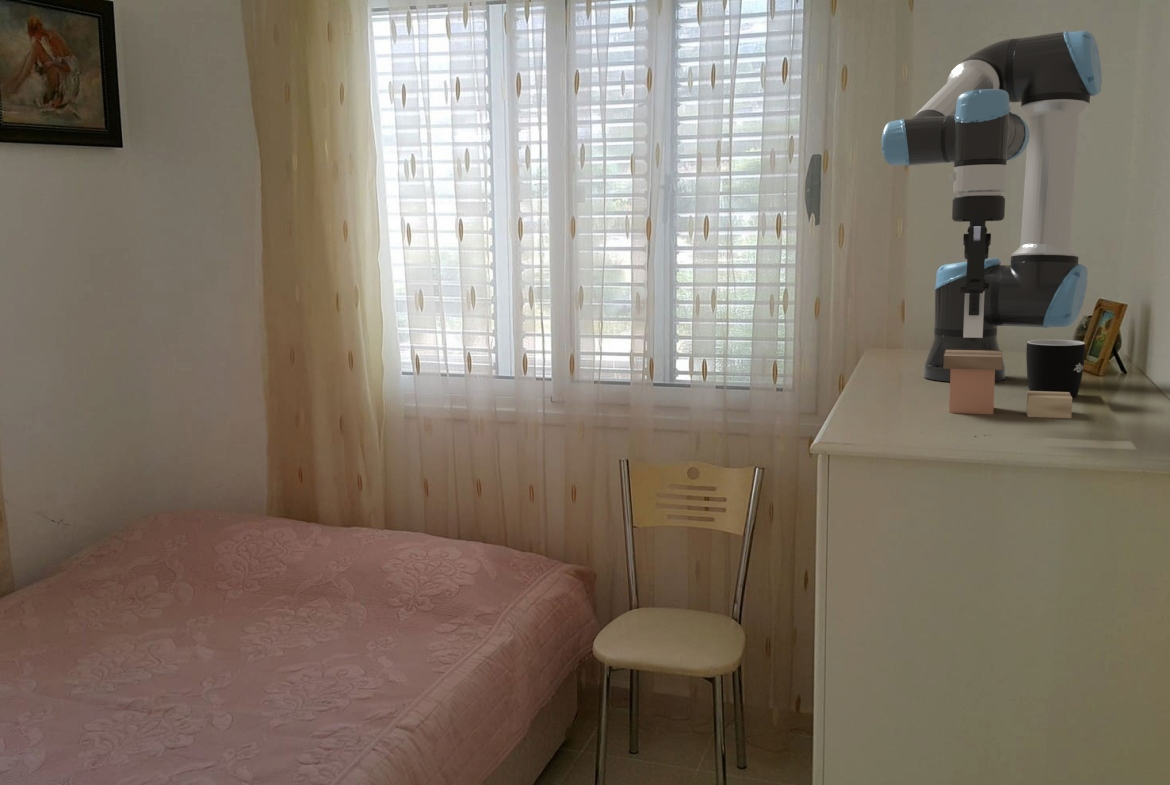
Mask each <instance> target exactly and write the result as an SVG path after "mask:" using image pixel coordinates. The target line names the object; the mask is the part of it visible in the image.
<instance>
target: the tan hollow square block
mask: <svg viewBox="0 0 1170 785" xmlns="http://www.w3.org/2000/svg"><path fill="white" fill-rule="evenodd" d="M995 383H996V381H995V370H981V369H951V371H950V382H949V405H948V406H949V408H948V409H949V410H948V413H950V414H971V415H994V409H995V408H994V407H995V406H994V405H995Z"/></svg>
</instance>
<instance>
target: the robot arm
mask: <svg viewBox="0 0 1170 785" xmlns="http://www.w3.org/2000/svg"><path fill="white" fill-rule="evenodd" d="M1097 43H1098V42H1097V40H1096V38H1095V36H1094V35H1093V33H1091V32H1090V31H1088V30H1077V31H1068V30H1065V31H1061V32H1057V33H1055V32H1053V33H1047V34H1041V35H1040V34H1039V35H1033V36H1026V37H1018V38H1008V39H1003V40H999V41H996V42H994V43H992V44H988V45H987V46H985V47H983V48H981V49H979V50H977V51H975V52H974V53H972V54H970V55H969V56H967V57H966V58H965V59H963V60H962V61H961V62H959V63H958V64H957V65H956V66H955V67H954V68H953V69H952V70H951V72H950V73H949V75H948V77H947V81H946V84H944V85H943V86H942V87H941V89H939V90H938V91H937V92H936V93H935V94H934V96H932V97H931V98H930V99H929V100H928V101H927V102H926V103H925V104H924V105H923V106H922V107H921V108H920V109H919V110H918V111H917V112H915V114H914V115H913V116H912V117H911V118H908V119H907V118H906V119H905V118H901V119H897V120H892V121H889V122H887V123H886V124H885V126H884V128H883V131H882V135H881V151H882V156H883V159H884V161H885V162H886V163H887V164H888V165H890V166H906V167H910V166H919V165H933V164H945V163H946V164H948V163H953V167H954V169H953V172H955V173H951V174H949V177H948V178H949V180H950V181H954V182H953V188H952V189H953V190H952V191H953V193H954V194H955V195H957V196H956V197H954V198H953V199H952V204H951V205H952V208H951V210H952V212H951V219H952V221H954V222H957V223H960V222H961V223H962V222H963V223H965V222H966V223H967V222H969V226H968V228H967V233H963V240H962V241H963V244H962V245H963V247H964V249H963V250H964V251H963V253H964V256H963V257H964V259H966V261H962V262H956V263H955V262H954V263H947V264H943V265H941V266H940V267H939V268H938V269H937V271H936V275H935V276H936V279H935V287H934V289H933V290H934V291H935V292H934V326H933V329H934V331H933V332H934V333H933V334H934V335H933V341H932V344H931V347H930V349H929V352H928V354H927V356H926V357H927V358H926V360H925V363H924V366H923V377H924V378H926V379H928V380H933V381H941V382H949V383H950V371H951V369H944V354H945V351H946V350H989V351H1001V350H1000V345H999V342H998V327H999V326H1000V327H1020V328H1021V327H1024V328H1026V327H1027V328H1044V329H1050V328H1067V327H1069V326H1072V325H1073V324H1074V323H1075V322H1076V321H1077V319H1078V318H1079V315H1080V313H1081V310H1082V308H1083V305H1084V300H1085V296H1086V292H1087V286H1088V269H1087V266H1086V265H1084V264H1081V263H1079V258H1080V257H1079V254H1078V253H1077V252H1076V251H1075V250H1074V249H1073V248H1072V246H1071V240H1072V226H1073V215H1074V214H1073V213H1074V199H1075V184H1076V171H1077V170H1076V169H1077V159H1078V158H1077V157H1078V156H1077V155H1078V145H1079V144H1078V143H1079V142H1078V141H1079V129H1080V117H1081V116H1082V114H1083V113H1084V112H1085V111H1087V110H1088V109H1089V107H1090V104H1091V103H1090V102H1091V101H1090V100H1091V97H1095V96H1097V95H1099V94H1100V92H1101V89H1102V79H1103V78H1102V66H1101V58H1100V52H1099V48H1098V47H1099V46H1098V44H1097ZM1011 103H1021V104H1020V111H1021V112H1022V113H1023V114H1024V115H1025V116H1026V117H1028V124H1027V123H1026V122H1025V120H1024V119H1023V118H1022V117H1021V116H1019V114H1016V113H1015V112H1012V111H1011V106H1010V104H1011ZM1025 150H1026V158H1025V171H1024V172H1025V174H1024V189H1023V201H1022V203H1023V204H1022V215H1021V216H1022V218H1021V232H1020V233H1021V234H1020V245H1019V246H1018V248H1017V249H1016V250H1015V251H1014V252H1013V253H1011V255H1010V264H1007V265H1004V264H1001V263H1002V262H1001V260H1000V258H999V257H994V258H989V250H990V249H989V248H990V246H991V244H992V243H991V242H992V233H991V232H990V233H988V227H987V226H986V222H999V221H1002V220H1004V218H1005V211H1006V197H1004V195H1002V193H1005V192H1006V190H1007V176H1008V174H1007V172H1008V165H1007V161H1012V160H1013V159H1016V158H1017V157H1019V156H1020V155H1021V154H1022V153H1023V152H1024V151H1025ZM1005 378H1006V366H1005V362H1004V361H1003V363H1002V370H995V382H998V381H999V382H1000V381H1003V380H1005Z"/></svg>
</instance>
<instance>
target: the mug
mask: <svg viewBox="0 0 1170 785" xmlns="http://www.w3.org/2000/svg"><path fill="white" fill-rule="evenodd" d="M1025 355H1026V374H1027V375H1026V376H1027V384H1028V391H1047V392H1070V395H1071V397H1072V400H1074V399H1077V397H1078V395H1079V392H1080V388H1081V385H1082V384H1081V383H1082V378H1083V373H1084V367H1085V357H1086V356H1085V355H1086V342H1084V341H1081V340H1071V339H1070V340H1069V339H1034V340H1028V341H1027V342H1026V354H1025Z"/></svg>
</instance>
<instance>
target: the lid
mask: <svg viewBox="0 0 1170 785" xmlns="http://www.w3.org/2000/svg"><path fill="white" fill-rule="evenodd" d="M1003 357H1004V356H1003V351H1002V350H1000V351H989V350H946V351H945V354H944V369H981V370H1002V363H1003V362H1004V358H1003Z"/></svg>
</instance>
